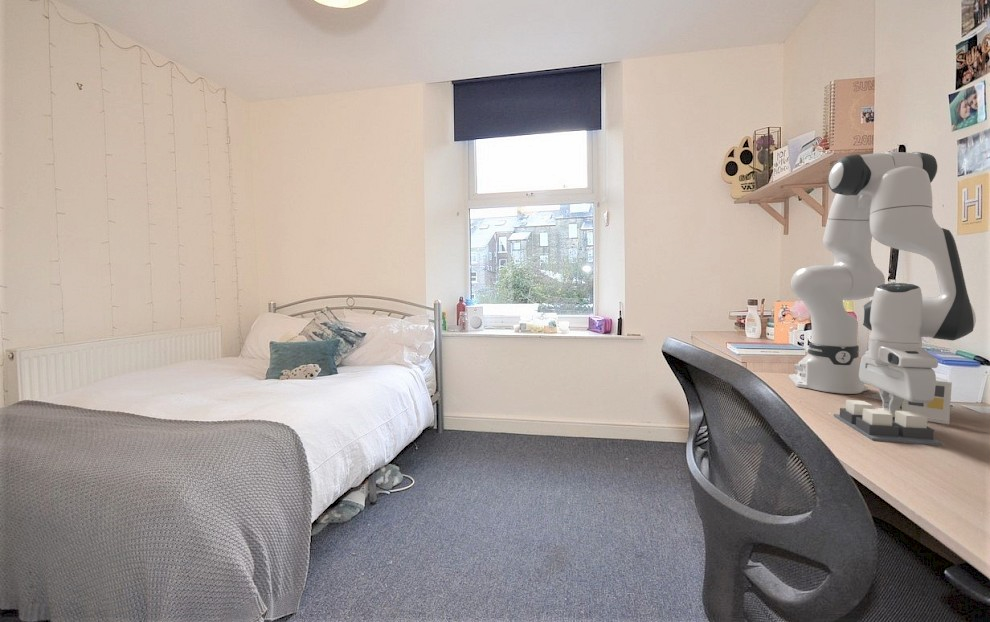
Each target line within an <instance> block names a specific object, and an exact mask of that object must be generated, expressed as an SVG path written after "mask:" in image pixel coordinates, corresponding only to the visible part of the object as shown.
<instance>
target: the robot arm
mask: <svg viewBox="0 0 990 622" xmlns="http://www.w3.org/2000/svg"><path fill="white" fill-rule="evenodd" d="M937 173H938V162H937V159H936V158H935V156H934V155H932V154H929V153H925V152H919V151H914V152H906V151H905V152H904V151H902V152H901V151H900V152H899V151H886V152H885V151H884V152H877V153H866V154H857V153H856V154H851V155H847V156H843V157H841V158H839V159H838V160H837V161H836V162H835V163H833V165H832V166H831V168H830V170H829V173H828V176H827V177H828V178H827V185H828V188H829V189H830V190H831V192H832V193H833V194H835V195H834V198H833V200H832V202H831V204H830V208H829V212H828V215H827V219H826V224H825V229H824V233H823V239H822V244H823V246H824V248H825V249H827V250H828V251H830V252H831V253H832V256H833V264H819V265H818V264H817V265H812V266H806V267H803V268H799V269H797V270H796V271H795V272H794V273H793V275H792V276H791V278H790V288H791V292H792V293H793V295H794V296H795V297H797V298H799V299H800V300H801V301H802V303H804V305H805V306H806V308H807V311H808V313H809V316H810V321H811V322H810V323H811V339H810V340H811V341H810V342H809V343H808V349H807V354H806V355H805V356H804V357H803V358H802V359H801V360H800V361H798V363H794V366H793V367H794V368H793V369H794V371H795V372H797V373H793V374H789V375H788V378H789V379H790V380H791V381H792V383H793V384H794V385H795V386H796V387H799V388H804V389H809V390H810V389H811V390H815V391H820V392H825V393H834V394H845V395H846V394H847V395H849V394H850V395H852V394H853V395H854V394H855V395H856V394H861V393H862V392H866V391H869V386H872V387H874V388H875V389H878V391H879V396H880V398H881V401H882V405H881V408H884V409H886V410H888V411H890V412H895V411H900V405H901V404H902V402H903V401H904V399H905V400H908V401H910V402H915V403H930V402H931V401H932V400H933V399H934V395H935V386H936V381H937V377H936V376H937V375H936V371H935V370H934V369H936V368H938V366H939V360H938V358H937V357H935V356H934V355H933V354H931V353H930V352H928V351H927V350H926V349H925V348H924V347H923V339H922V338H932V339H936V340H937V339H938V340H946V341H956V340H960V339H961V338H964V337H966V336H967V335H969V334H971V333H973V331H974V328H975V326H976V321H977V318H976V317H977V316H976V313H975V309H974V308H973V305H972V304H971V300H970V297H969V293H968V290H967V286H966V282H965V277H964V272H963V267H962V263H961V258H960V254H959V251H958V246H957V243H956V240H955V237H954V235H953V234H952V232H951V231H950V230H949V229H947V228H943V227H941V226H940V225H939V224H938V223H937V222H936V220H935V218H934V215H933V191H932V185H931V183H932V182H933V181H934V179H935V177H936V175H937ZM873 239H875V240H876V241H877V243H879V244H881V245H884V246H886V247H889V248H892V249H894V250H895V249H896V250H899V251H904V252H908V253H913V254H917V255H919V256H923V257H924V258H927V259H928V260H929V261H931V262H932V264H933V266H934V268H935V274H936V278H937V281H938V282H937V283H938V287H939V292H940V294H939V295H938V296H932V297H931V296H929V297H928V296H925V297H924V296H923V293H922V289H921V286H919V285H917V284H916V285H915V284H913V283H907V282H906V283H904V282H903V283H902V282H901V283H900V282H897V283H896V282H894V283H892V282H891V283H886V278H885V275H884V273H883V272H882V270H880V268H878V267H877V265H876V264H875V263H874V260H873V256H872V250H871V249H872V248H871V247H872V240H873ZM871 297H872V298H871ZM868 298H871V300H870V301H868V302H866V303H865V304H864V305H863V310H864V311H863V313H864V314H863V315H864V316H863V323H862V326H864V327H865V328H866V329H868V330H869V331H870V334H869V336H868V346H867V347H868V348H867V350H865V352H864V354H863V355H862V356H861V359H860V360H859V359H858V358H859V356H860V355H859V354H860V348H859V347H860V346H859V345H858V334H859V333H858V332H859V323H858V321H859V320H858V319H857V318H856V317H855V316H854V315H852V314H850V313H848V311H847V310H846V308H845V306H844V302H843V301H850V300H851V301H857V300H863V299H868ZM864 384H865V385H864ZM867 385H869V386H867Z"/></svg>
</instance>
